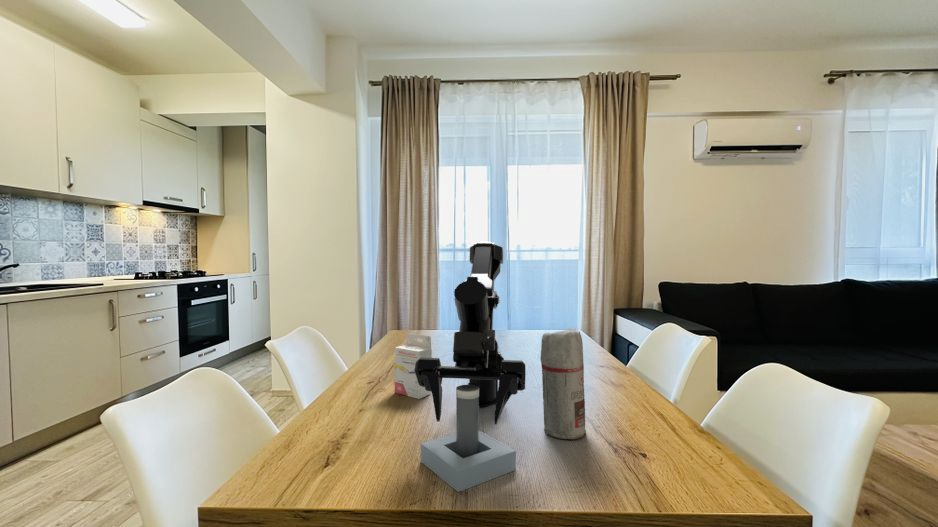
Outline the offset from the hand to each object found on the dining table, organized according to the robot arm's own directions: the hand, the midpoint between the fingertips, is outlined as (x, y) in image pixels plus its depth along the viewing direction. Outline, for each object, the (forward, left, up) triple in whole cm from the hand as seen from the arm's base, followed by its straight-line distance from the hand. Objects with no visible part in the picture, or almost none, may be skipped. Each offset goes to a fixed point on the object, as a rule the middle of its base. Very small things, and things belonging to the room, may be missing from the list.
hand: (466, 421), depth 64 cm
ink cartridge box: (-11, -39, -8) cm, 41 cm away
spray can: (-24, -1, -8) cm, 25 cm away
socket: (-1, -1, -8) cm, 8 cm away
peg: (-1, -1, -8) cm, 8 cm away
